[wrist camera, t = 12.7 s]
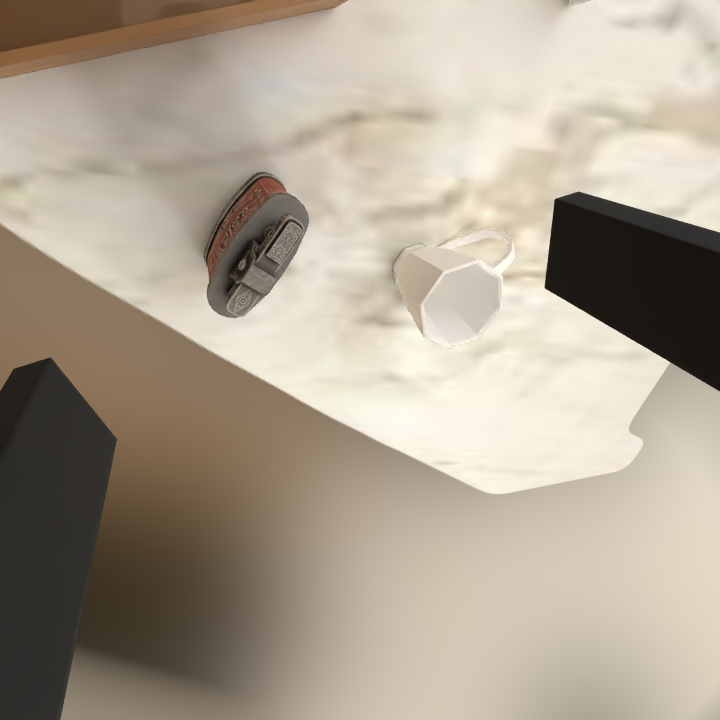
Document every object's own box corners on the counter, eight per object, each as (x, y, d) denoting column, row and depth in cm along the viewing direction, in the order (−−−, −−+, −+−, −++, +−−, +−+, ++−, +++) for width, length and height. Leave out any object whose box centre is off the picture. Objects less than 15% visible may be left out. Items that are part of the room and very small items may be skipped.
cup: (362, 263, 34) (401, 304, 27) (460, 186, 33) (524, 209, 27) (401, 319, 38) (443, 365, 32) (488, 252, 37) (549, 285, 31)
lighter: (234, 282, 31) (249, 348, 23) (192, 257, 29) (193, 320, 21) (296, 192, 29) (334, 231, 21) (255, 160, 27) (280, 189, 19)
